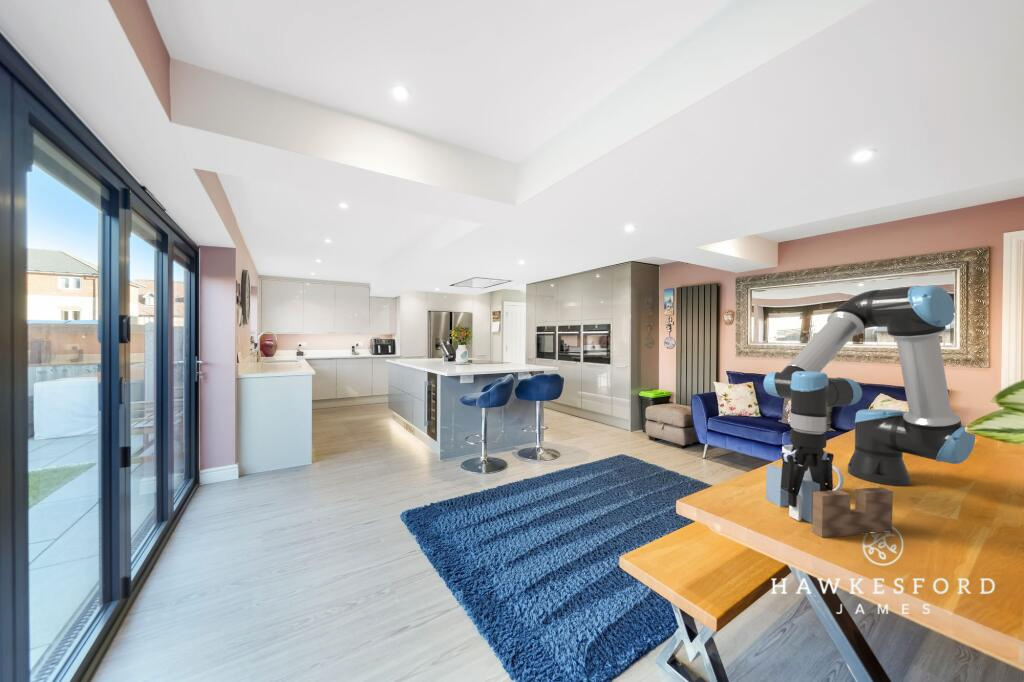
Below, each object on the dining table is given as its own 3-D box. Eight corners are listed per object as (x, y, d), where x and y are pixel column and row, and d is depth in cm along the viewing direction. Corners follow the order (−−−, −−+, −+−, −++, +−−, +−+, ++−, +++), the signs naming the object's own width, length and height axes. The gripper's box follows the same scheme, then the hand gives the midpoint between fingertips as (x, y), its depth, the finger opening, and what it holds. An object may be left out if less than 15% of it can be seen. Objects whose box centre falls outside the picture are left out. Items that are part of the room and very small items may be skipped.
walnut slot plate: (880, 526, 94) (881, 487, 93) (891, 531, 91) (892, 491, 91) (812, 532, 91) (813, 491, 90) (821, 537, 88) (822, 496, 88)
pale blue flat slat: (766, 499, 109) (766, 465, 109) (773, 498, 109) (773, 465, 109) (811, 523, 95) (811, 484, 95) (819, 522, 95) (819, 484, 95)
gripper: (825, 425, 102) (823, 508, 103) (764, 427, 99) (762, 512, 100) (853, 433, 95) (851, 522, 95) (788, 435, 92) (787, 527, 92)
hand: (806, 517), depth 97 cm, fingers open, 6 cm apart
